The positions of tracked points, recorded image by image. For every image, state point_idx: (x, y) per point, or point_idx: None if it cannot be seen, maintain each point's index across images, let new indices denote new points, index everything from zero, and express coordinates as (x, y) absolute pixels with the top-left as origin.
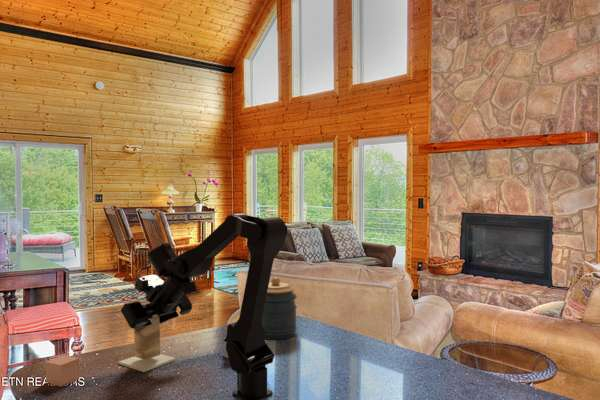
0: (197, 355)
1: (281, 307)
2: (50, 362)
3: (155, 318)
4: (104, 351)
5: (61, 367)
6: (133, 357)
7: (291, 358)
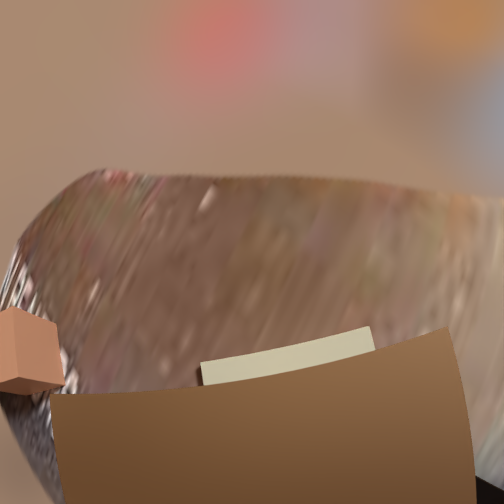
0: (484, 469)
1: None
2: None
3: None
4: (235, 191)
5: None
6: (270, 359)
7: None
